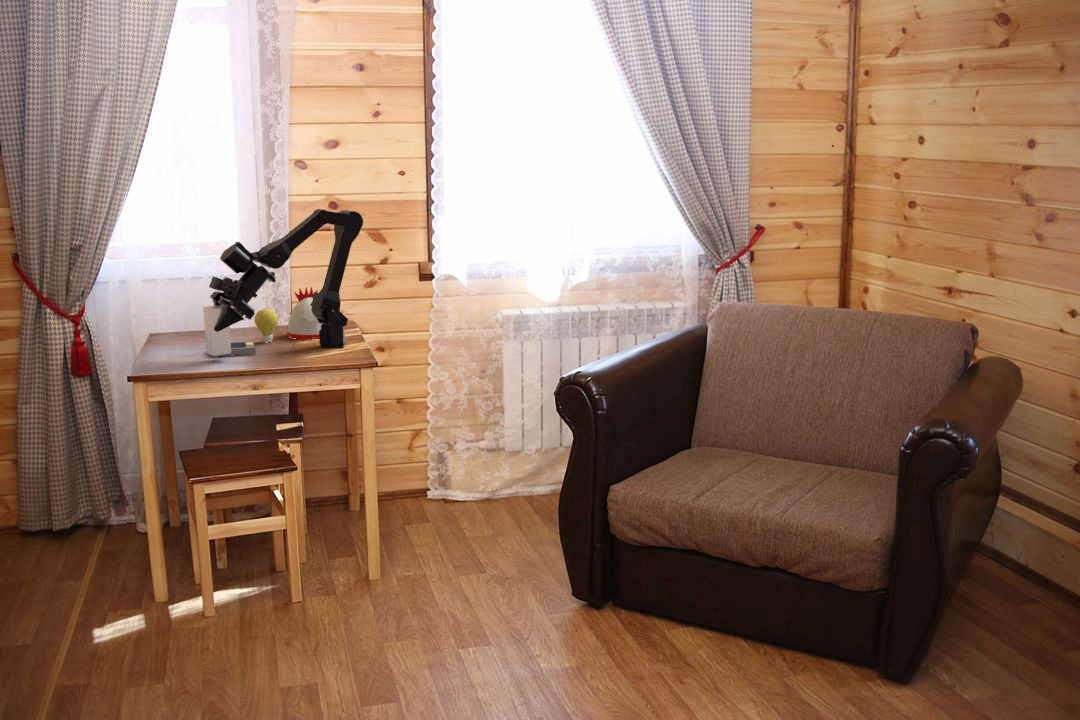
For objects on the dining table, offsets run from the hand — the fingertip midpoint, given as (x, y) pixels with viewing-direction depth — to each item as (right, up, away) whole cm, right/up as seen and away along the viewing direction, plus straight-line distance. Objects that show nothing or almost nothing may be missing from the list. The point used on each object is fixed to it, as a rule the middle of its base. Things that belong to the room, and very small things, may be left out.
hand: (212, 329), depth 284 cm
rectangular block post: (+1, -6, +2) cm, 7 cm away
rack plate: (+2, -6, +13) cm, 14 cm away
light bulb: (+8, -3, +27) cm, 28 cm away
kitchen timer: (+18, -1, +37) cm, 42 cm away
